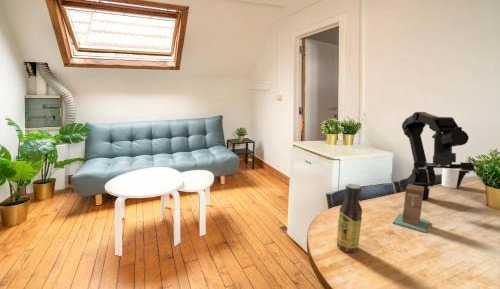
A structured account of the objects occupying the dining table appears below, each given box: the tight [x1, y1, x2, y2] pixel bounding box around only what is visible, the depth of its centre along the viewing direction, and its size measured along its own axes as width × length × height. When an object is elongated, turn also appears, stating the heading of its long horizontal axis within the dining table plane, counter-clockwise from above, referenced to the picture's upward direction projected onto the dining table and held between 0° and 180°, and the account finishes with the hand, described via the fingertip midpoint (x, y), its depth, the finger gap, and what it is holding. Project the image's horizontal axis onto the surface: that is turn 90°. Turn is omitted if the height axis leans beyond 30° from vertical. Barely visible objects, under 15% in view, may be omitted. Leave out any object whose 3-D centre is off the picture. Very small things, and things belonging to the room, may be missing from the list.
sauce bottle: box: [336, 183, 363, 253], centre depth 78 cm, size 6×6×20 cm
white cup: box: [441, 168, 461, 189], centre depth 137 cm, size 8×8×10 cm
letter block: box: [402, 183, 424, 226], centre depth 95 cm, size 5×5×13 cm
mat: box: [392, 212, 431, 234], centre depth 96 cm, size 10×10×1 cm
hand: (442, 188), depth 102 cm, fingers open, 9 cm apart
